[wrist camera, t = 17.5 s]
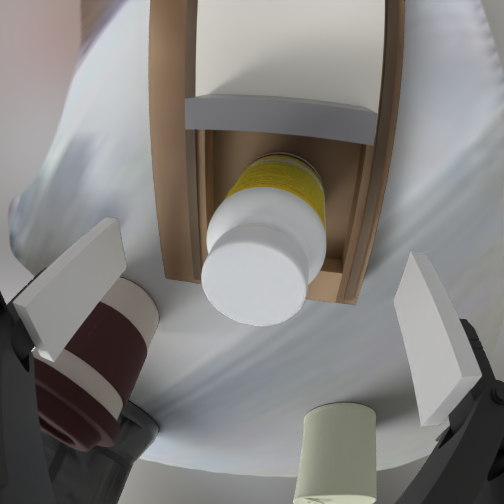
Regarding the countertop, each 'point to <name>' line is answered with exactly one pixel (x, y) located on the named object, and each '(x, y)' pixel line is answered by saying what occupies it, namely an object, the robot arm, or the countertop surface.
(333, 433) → the can
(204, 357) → the countertop surface
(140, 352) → the coffee cup
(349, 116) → the lid
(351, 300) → the board
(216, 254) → the supplement bottle
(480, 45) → the countertop surface
